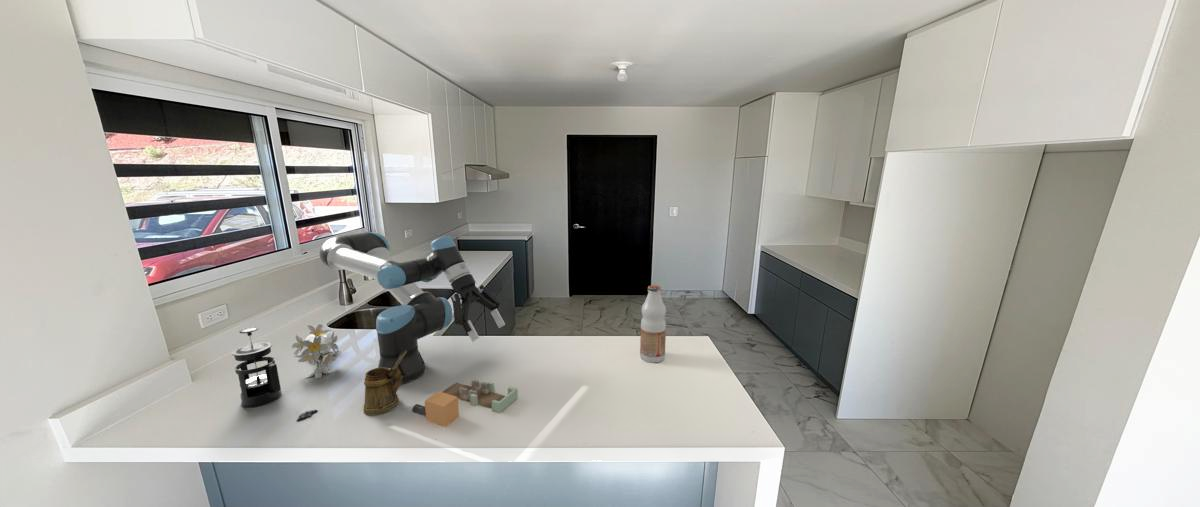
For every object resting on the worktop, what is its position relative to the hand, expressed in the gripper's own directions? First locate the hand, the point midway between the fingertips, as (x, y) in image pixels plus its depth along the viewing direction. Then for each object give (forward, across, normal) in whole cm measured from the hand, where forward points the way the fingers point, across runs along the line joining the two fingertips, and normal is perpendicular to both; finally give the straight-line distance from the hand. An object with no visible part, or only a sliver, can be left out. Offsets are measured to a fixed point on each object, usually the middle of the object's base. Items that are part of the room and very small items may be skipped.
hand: (489, 332), depth 128 cm
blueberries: (-4, -39, +38) cm, 55 cm away
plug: (+14, -25, +9) cm, 30 cm away
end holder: (+19, -13, -1) cm, 23 cm away
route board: (+16, -13, +4) cm, 21 cm away
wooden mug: (+5, -26, +23) cm, 35 cm away
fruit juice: (+38, +35, -32) cm, 61 cm away
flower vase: (-21, -18, +62) cm, 68 cm away
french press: (-16, -39, +56) cm, 70 cm away
